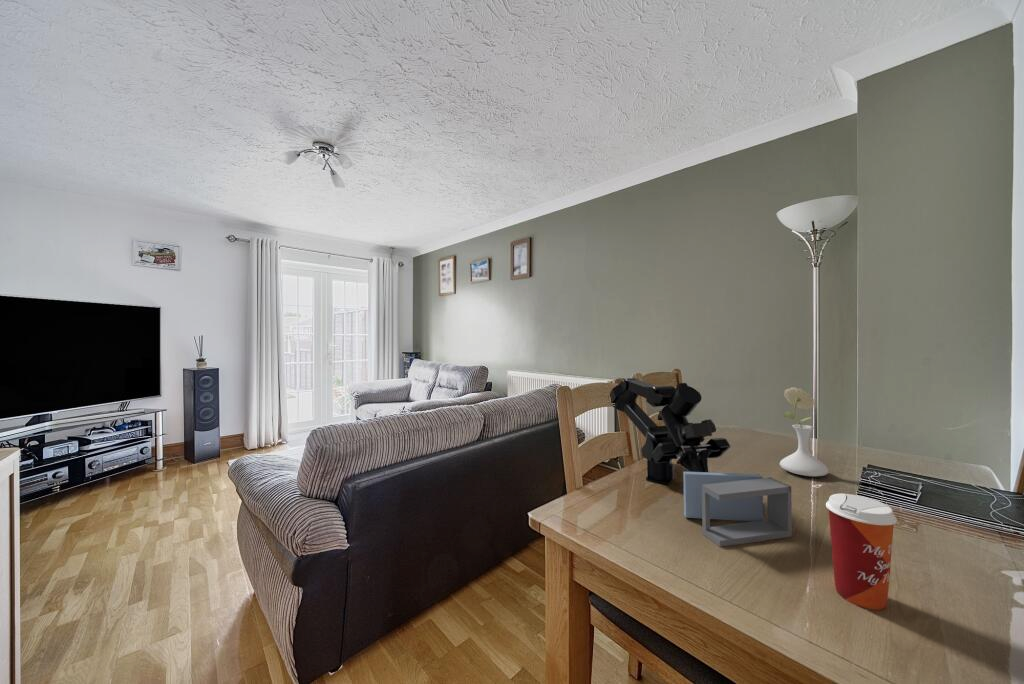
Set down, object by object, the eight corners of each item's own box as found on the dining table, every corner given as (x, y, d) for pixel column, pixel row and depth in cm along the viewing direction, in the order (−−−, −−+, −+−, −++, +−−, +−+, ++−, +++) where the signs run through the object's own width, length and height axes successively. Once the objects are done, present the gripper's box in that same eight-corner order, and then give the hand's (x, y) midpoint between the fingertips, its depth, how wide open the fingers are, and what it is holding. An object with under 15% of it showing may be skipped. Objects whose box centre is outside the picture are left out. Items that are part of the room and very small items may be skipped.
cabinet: (702, 533, 78) (701, 484, 78) (770, 524, 81) (770, 477, 81) (719, 546, 73) (719, 494, 73) (791, 536, 76) (791, 486, 76)
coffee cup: (884, 623, 54) (883, 520, 53) (816, 589, 61) (815, 498, 61) (907, 603, 57) (906, 507, 57) (840, 573, 65) (840, 488, 64)
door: (682, 511, 87) (681, 469, 87) (762, 516, 84) (761, 472, 84) (685, 517, 84) (685, 473, 84) (768, 522, 82) (767, 476, 81)
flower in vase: (839, 480, 104) (838, 391, 104) (798, 480, 104) (797, 392, 104) (803, 463, 117) (802, 384, 117) (767, 464, 117) (766, 385, 117)
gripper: (657, 410, 91) (687, 471, 81) (724, 406, 95) (761, 463, 84) (641, 434, 99) (666, 492, 89) (703, 429, 103) (735, 484, 92)
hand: (707, 483), depth 88 cm, fingers closed
